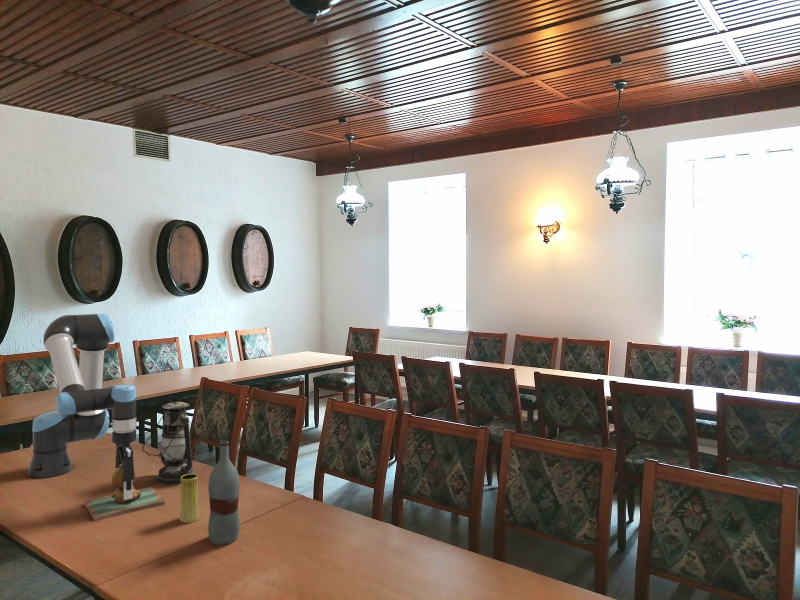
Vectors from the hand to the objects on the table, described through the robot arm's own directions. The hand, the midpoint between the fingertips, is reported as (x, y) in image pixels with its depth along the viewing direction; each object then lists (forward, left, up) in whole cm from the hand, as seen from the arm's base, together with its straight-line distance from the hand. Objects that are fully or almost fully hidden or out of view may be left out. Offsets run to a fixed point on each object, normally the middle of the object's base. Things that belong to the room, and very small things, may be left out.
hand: (124, 494), depth 198 cm
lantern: (-15, +20, -4) cm, 25 cm away
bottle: (+45, +18, -4) cm, 49 cm away
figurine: (0, 0, -2) cm, 3 cm away
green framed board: (0, 0, -4) cm, 4 cm away
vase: (+25, +14, -4) cm, 29 cm away
